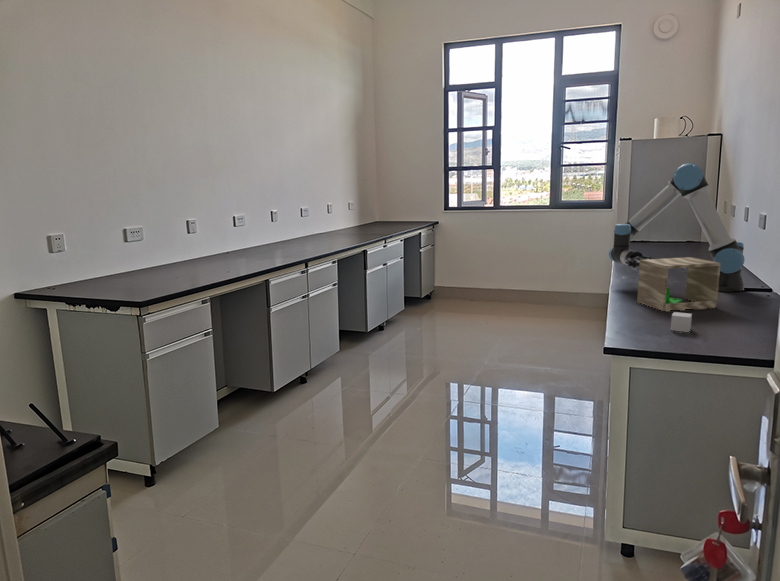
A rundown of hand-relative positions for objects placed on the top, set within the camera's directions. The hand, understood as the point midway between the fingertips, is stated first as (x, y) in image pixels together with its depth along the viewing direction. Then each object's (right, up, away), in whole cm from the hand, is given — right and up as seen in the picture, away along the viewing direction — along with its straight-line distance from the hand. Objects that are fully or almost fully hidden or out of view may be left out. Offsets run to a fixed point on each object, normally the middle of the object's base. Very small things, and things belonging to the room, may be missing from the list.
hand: (659, 265), depth 254 cm
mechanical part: (+2, -18, -7) cm, 19 cm away
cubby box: (+3, -18, -8) cm, 20 cm away
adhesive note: (-15, -26, -47) cm, 55 cm away
